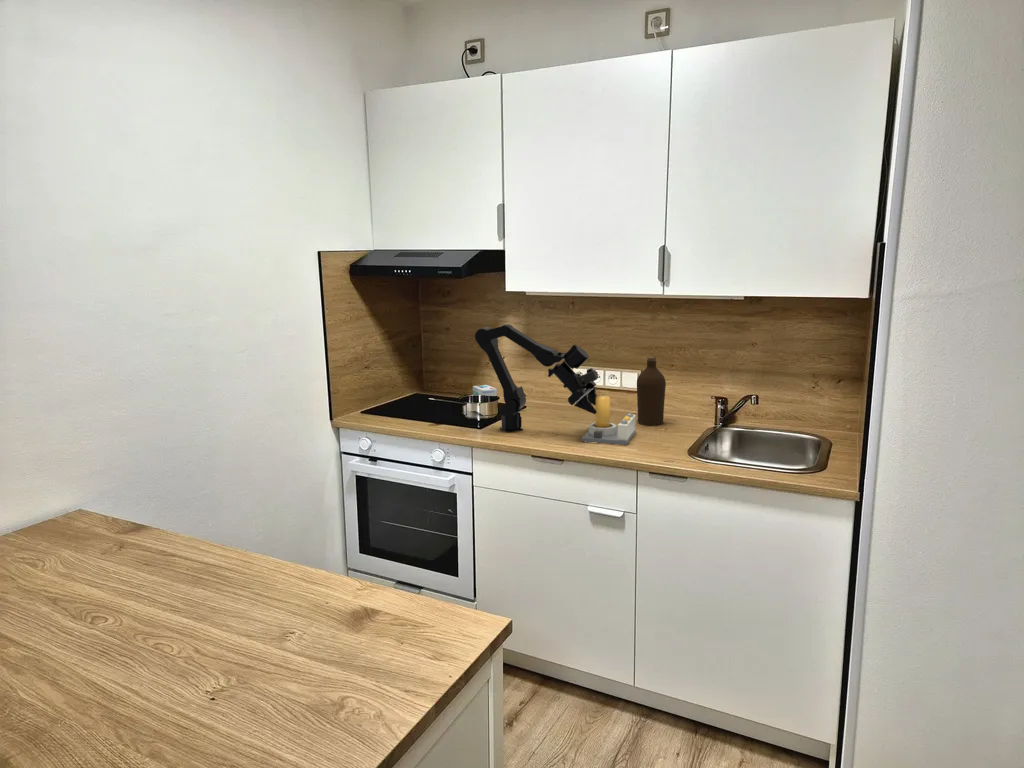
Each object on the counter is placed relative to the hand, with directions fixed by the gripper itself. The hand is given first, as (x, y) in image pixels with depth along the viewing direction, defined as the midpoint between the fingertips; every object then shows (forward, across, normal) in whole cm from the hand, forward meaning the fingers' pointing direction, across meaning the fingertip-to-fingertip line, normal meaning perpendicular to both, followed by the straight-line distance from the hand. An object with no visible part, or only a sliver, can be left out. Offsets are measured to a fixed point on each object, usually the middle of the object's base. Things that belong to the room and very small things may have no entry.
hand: (598, 410), depth 236 cm
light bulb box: (-30, +23, +44) cm, 58 cm away
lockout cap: (+6, 0, +4) cm, 8 cm away
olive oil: (+17, +25, -4) cm, 30 cm away
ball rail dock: (+9, 0, +4) cm, 10 cm away
